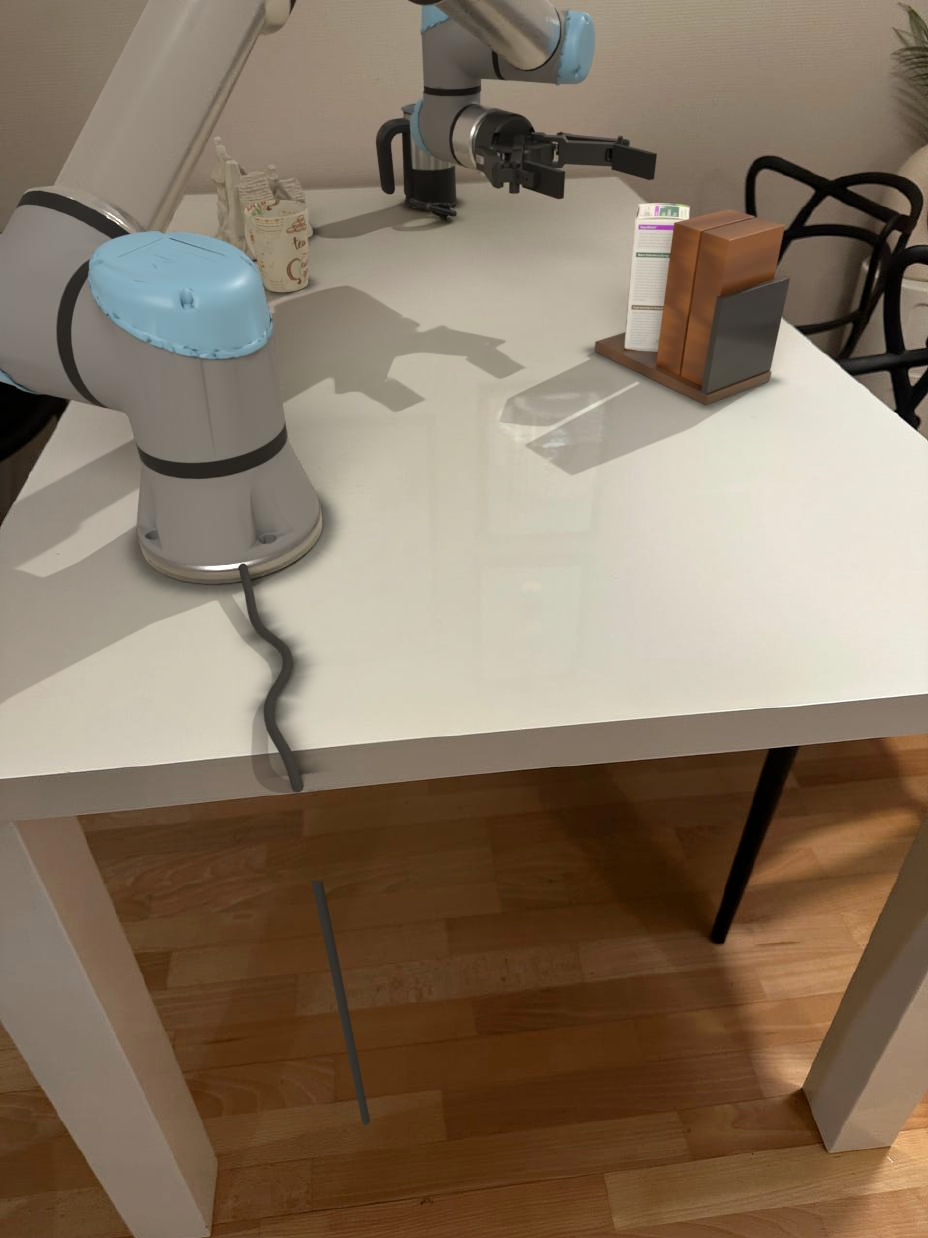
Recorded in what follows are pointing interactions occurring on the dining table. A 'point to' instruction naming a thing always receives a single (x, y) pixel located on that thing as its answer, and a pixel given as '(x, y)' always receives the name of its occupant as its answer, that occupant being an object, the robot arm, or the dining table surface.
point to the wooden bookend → (715, 308)
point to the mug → (279, 243)
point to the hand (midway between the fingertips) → (609, 175)
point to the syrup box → (650, 272)
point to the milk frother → (416, 170)
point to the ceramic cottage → (246, 195)
